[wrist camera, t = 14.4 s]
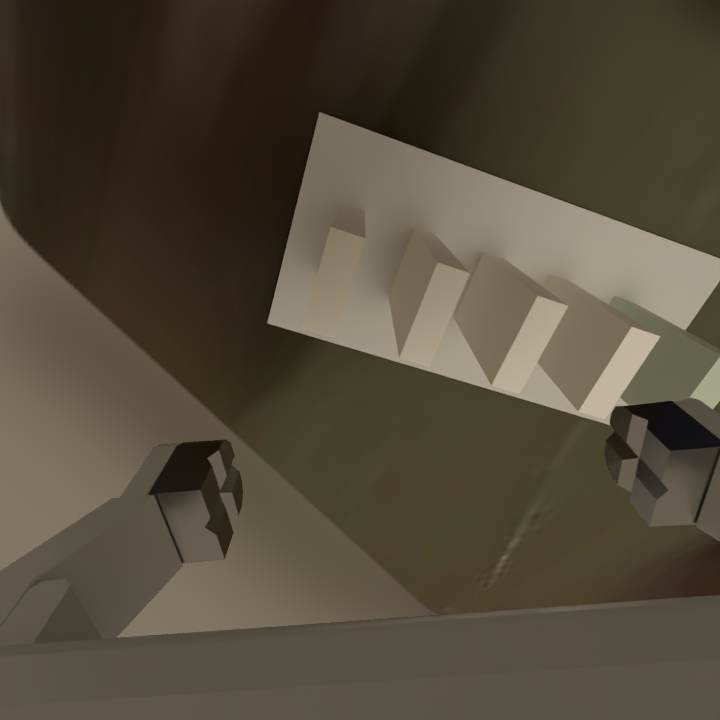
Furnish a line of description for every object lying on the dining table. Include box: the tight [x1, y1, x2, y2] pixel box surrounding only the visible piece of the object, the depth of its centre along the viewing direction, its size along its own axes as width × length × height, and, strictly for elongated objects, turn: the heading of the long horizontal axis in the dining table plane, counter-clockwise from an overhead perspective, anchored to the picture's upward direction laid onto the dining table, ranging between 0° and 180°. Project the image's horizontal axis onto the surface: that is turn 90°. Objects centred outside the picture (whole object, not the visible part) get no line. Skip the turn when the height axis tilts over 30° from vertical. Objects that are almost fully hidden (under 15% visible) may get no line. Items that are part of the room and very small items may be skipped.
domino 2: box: [389, 228, 470, 367], centre depth 25 cm, size 2×5×10 cm, turn 162°
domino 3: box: [454, 252, 568, 394], centre depth 26 cm, size 2×5×10 cm, turn 162°
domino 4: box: [537, 275, 661, 419], centre depth 26 cm, size 2×5×10 cm, turn 162°
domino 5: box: [609, 296, 720, 409], centre depth 27 cm, size 2×5×10 cm, turn 162°
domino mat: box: [268, 112, 720, 425], centre depth 31 cm, size 29×14×1 cm, turn 72°
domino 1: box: [302, 203, 366, 339], centre depth 25 cm, size 2×5×10 cm, turn 162°
